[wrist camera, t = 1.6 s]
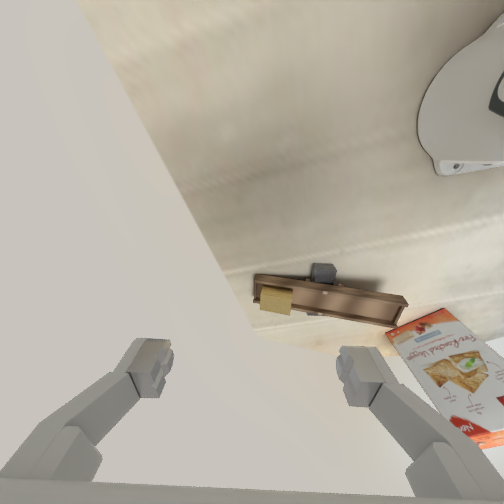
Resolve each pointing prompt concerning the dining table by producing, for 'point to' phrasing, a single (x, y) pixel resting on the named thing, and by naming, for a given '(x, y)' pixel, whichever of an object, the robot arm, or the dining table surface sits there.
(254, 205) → the dining table surface
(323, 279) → the fulcrum
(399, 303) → the beam
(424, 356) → the cracker box
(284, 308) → the rider
